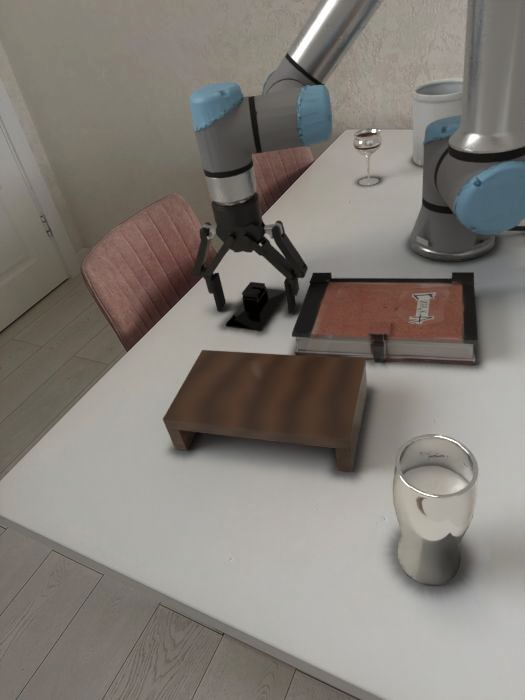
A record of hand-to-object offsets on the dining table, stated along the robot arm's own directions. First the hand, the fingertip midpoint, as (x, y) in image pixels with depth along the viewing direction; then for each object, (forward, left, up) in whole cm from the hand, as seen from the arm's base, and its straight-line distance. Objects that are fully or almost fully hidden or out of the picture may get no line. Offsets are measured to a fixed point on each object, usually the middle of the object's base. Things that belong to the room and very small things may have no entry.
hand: (256, 308), depth 91 cm
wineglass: (-13, -57, 0) cm, 59 cm away
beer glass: (-31, +42, 0) cm, 52 cm away
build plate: (0, 0, 0) cm, 0 cm away
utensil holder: (-30, -70, 0) cm, 76 cm away
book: (-23, +4, 0) cm, 24 cm away
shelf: (-10, +26, 0) cm, 28 cm away
